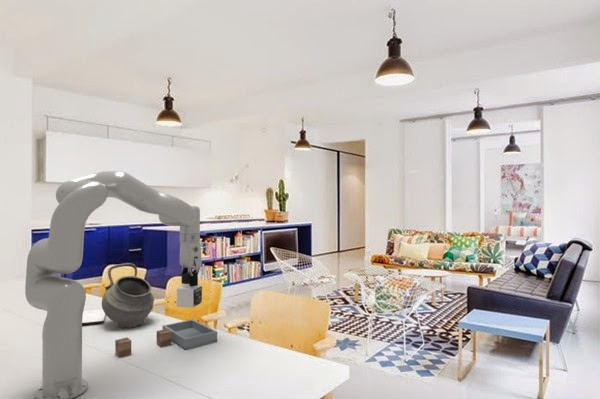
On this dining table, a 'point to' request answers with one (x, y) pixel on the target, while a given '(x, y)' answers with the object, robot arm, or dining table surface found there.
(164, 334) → the right walnut block
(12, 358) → the dining table surface
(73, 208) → the robot arm
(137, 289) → the pot
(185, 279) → the medicine bottle
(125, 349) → the left walnut block
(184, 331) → the tray
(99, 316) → the plate
